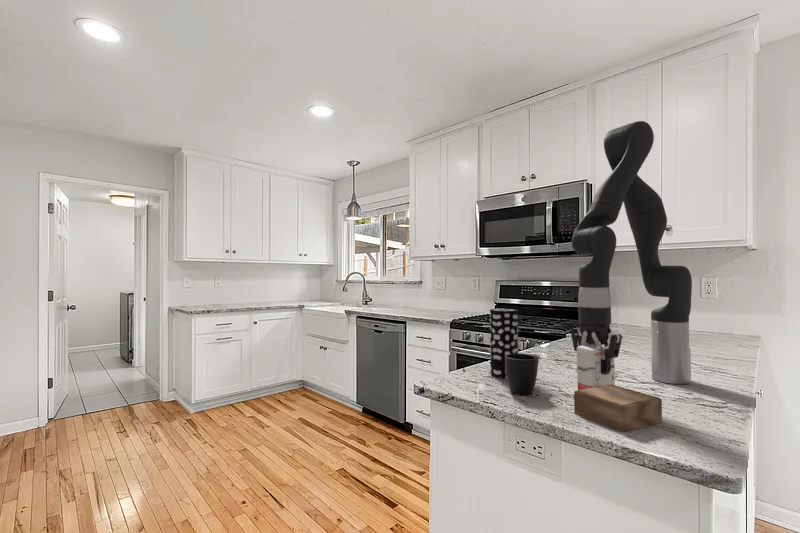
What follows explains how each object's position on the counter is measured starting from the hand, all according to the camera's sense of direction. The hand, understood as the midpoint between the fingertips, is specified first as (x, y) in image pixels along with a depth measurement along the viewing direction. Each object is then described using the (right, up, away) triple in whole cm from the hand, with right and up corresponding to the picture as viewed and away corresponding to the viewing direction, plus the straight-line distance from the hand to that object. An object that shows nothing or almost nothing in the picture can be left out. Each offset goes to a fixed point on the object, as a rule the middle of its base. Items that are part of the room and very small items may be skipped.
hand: (595, 371), depth 105 cm
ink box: (0, -6, 0) cm, 6 cm away
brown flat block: (-3, -6, -16) cm, 17 cm away
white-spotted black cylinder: (-18, -7, +21) cm, 29 cm away
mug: (-17, -7, +4) cm, 18 cm away
